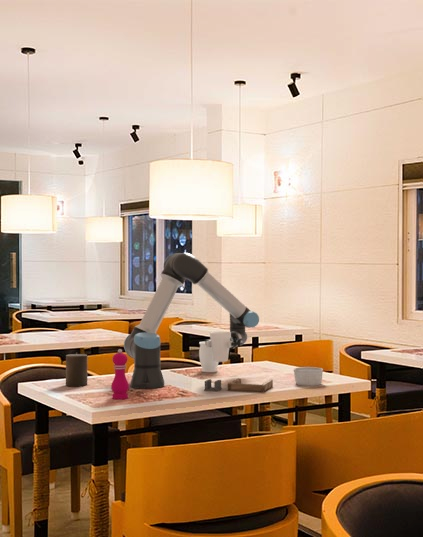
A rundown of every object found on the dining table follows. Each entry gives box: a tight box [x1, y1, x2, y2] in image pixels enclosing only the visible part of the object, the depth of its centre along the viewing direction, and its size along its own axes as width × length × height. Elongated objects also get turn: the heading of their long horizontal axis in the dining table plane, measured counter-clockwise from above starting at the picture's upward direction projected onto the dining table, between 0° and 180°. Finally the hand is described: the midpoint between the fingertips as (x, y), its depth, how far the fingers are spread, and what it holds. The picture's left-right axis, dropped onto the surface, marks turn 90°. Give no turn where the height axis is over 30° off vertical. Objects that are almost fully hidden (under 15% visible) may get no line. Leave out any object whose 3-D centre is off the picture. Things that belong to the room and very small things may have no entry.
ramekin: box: [293, 366, 324, 387], centre depth 341 cm, size 13×13×7 cm
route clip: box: [203, 379, 223, 392], centre depth 326 cm, size 6×6×4 cm
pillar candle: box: [65, 352, 88, 388], centre depth 342 cm, size 10×10×15 cm
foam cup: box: [209, 330, 231, 363], centre depth 342 cm, size 10×9×13 cm
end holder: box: [227, 378, 274, 393], centre depth 329 cm, size 16×16×3 cm
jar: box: [198, 340, 220, 373], centre depth 384 cm, size 11×10×15 cm
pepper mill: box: [110, 348, 130, 400], centre depth 307 cm, size 7×7×20 cm
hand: (217, 344), depth 337 cm, fingers closed on foam cup, 9 cm apart
